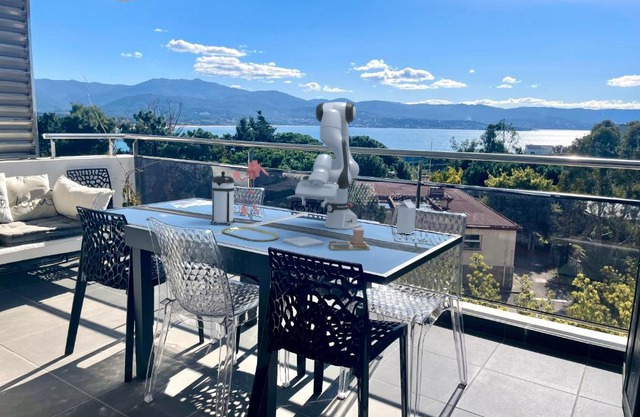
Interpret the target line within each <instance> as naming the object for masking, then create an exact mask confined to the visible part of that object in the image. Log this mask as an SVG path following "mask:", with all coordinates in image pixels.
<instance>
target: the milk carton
mask: <svg viewBox="0 0 640 417" xmlns="http://www.w3.org/2000/svg"><path fill="white" fill-rule="evenodd" d="M416 211H417V207H416V205H415V204H414V203H413V202H412V199H410V198H409V199H404V200H403V201H402V202H401V204H400V205H398V206H397V219H396V232H397V233H396V234H399V233H405V234H408V233H411V232H413V231H414V232H415V226H416V214H417V212H416Z"/></svg>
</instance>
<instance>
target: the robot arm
mask: <svg viewBox="0 0 640 417" xmlns="http://www.w3.org/2000/svg"><path fill="white" fill-rule="evenodd" d="M315 108H316V109H315V118H316V120H317V121H318V122H319V123H320V126H319V140H320V141H321V143H322V144H323V145H324V146H326V147H328V148H329V150H330V151H331V152H332V153H333V154H334V156H335V158H333V157H332V156H331V155H330V154H327V153H320V154H318V155H317V156H316V158H315V160H314V163H313V167H312V173H311V174H308V175H304V176H303V175H302V176H301V177H300V181H299V182H298V183H297V185H296V187H295V190H294V193H295V194H294V195H295V196H296V198H300V199H301V201H302V202H301V206H306V204H307V201H306V200H305V199H311V200H323V202H320V203H321V204H320V207H321V208H325V206H326V211H327V212H326V218H325V223H324V224H323V226H324V227H326V228H329V229H339V230H340V229H341V230H350V229H356V228H359V227H362V224H361V223H359V222H358V216H357V214H355V213H354V212H353V211H352V210H351V209H350V207H351V208H352V207H353V203H351V202H349V203H348V192H349V190H348V188H349V187H350V186H351V185H352V180H354V179H356V178H357V177H358V176H359V173H360V167H359V164H358V163H357V162H356V161H355V160H354V158H353V156H352V154H351V150H350V142H349V141H350V137H349V136H350V130H349V125H350V123H352V122H353V121H354V120H355V119H356V116H357V108H356V105H355V104H354V103H353V102H348V101H347V102H344V101H343V102H342V101H334V102H332V101H331V102H321V103H318V104H317V105H316V107H315Z"/></svg>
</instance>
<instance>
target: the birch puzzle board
mask: <svg viewBox="0 0 640 417" xmlns="http://www.w3.org/2000/svg"><path fill="white" fill-rule="evenodd" d="M327 243H328V244H327V246H328V247H329V249H330V251H370V245H369V244H368V243H367V242H366V241H363V245H353V241H347V240H328V242H327Z"/></svg>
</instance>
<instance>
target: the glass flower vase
mask: <svg viewBox="0 0 640 417" xmlns="http://www.w3.org/2000/svg"><path fill="white" fill-rule="evenodd" d="M247 166H248V167H247V168H246V173H245V176H247V177H245V178H243V179H242V178H241V175H240V172H239V171H238V170H234V171H233V179H235V180H236V181H238V180H239V179H240V181H241V182H242V181H244V180H247V179H249V180H248V181H249V183H250V189H249V190H248V193H247V194H244V195H243V196H242V203H243V204H242V206H241V208H240V211H241V212H240V216H241V215H243V216H246V215H247V212H248V210H247V207H246V206H245V201H244V200H245V199H244V197H245V196H247V195H249V194H250V195H252V194H253V196H254V197H253V198H254V202H253V203H254V204H252V205H253V206H252V210H251V212H250V214H252V213H253V211H255V212H256V213H257V214H260V213H259V210H258V207H257V206H256V195H255V193H254V190H253V189H252V181H251V180H254V181H255V180H256V178H258V177H260V172H261V171H262V172H263V174H264V175H266V176H268V177H269V173H268V172H267V171H266V170H265V169H264V168H263V167H261V164H260V163H258V160H252V161H250V162H248V163H247ZM266 216H268V214H266V215H264V216H262V218H265V217H266Z"/></svg>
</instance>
